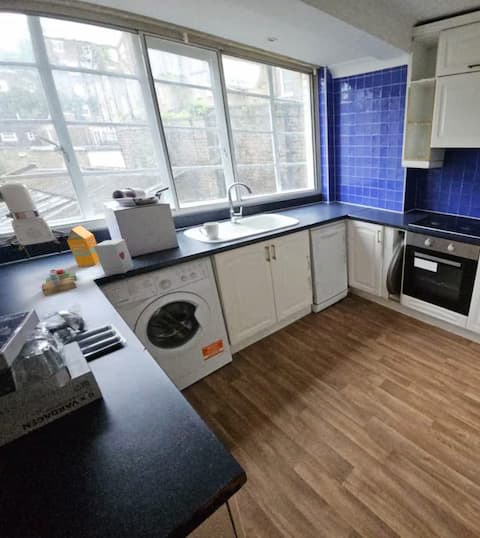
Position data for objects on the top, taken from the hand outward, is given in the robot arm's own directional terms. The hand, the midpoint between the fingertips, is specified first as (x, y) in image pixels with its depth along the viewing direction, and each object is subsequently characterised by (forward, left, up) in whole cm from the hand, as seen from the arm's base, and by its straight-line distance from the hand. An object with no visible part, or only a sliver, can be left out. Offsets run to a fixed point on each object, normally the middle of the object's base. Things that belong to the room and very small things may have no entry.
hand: (44, 255), depth 124 cm
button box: (+1, +8, -15) cm, 18 cm away
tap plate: (0, -2, -15) cm, 16 cm away
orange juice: (+13, +29, -16) cm, 35 cm away
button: (+1, +8, -12) cm, 14 cm away
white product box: (+22, +3, -16) cm, 27 cm away
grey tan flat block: (0, -2, -12) cm, 13 cm away
